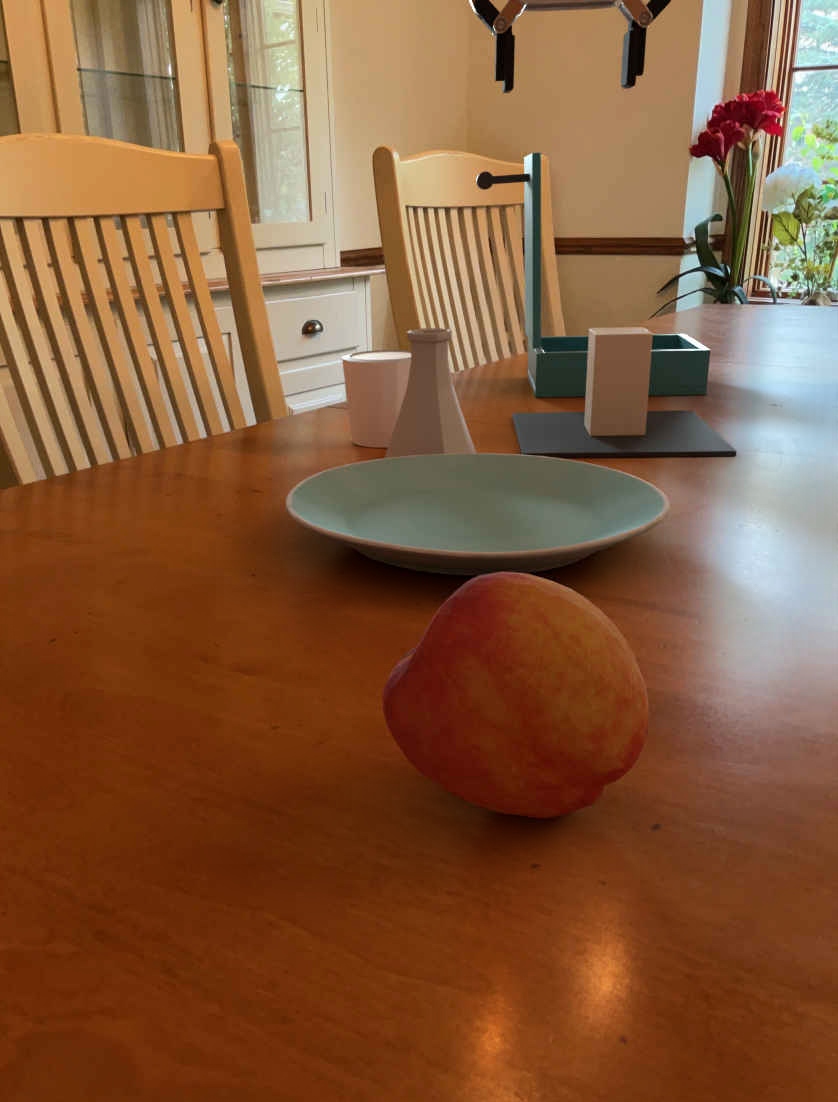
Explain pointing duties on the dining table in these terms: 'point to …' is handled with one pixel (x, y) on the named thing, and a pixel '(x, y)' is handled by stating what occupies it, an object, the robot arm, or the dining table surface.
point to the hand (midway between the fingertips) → (567, 89)
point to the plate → (476, 510)
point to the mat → (618, 437)
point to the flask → (429, 402)
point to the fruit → (519, 698)
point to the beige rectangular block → (617, 381)
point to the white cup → (375, 393)
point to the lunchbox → (565, 359)
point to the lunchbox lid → (527, 238)
